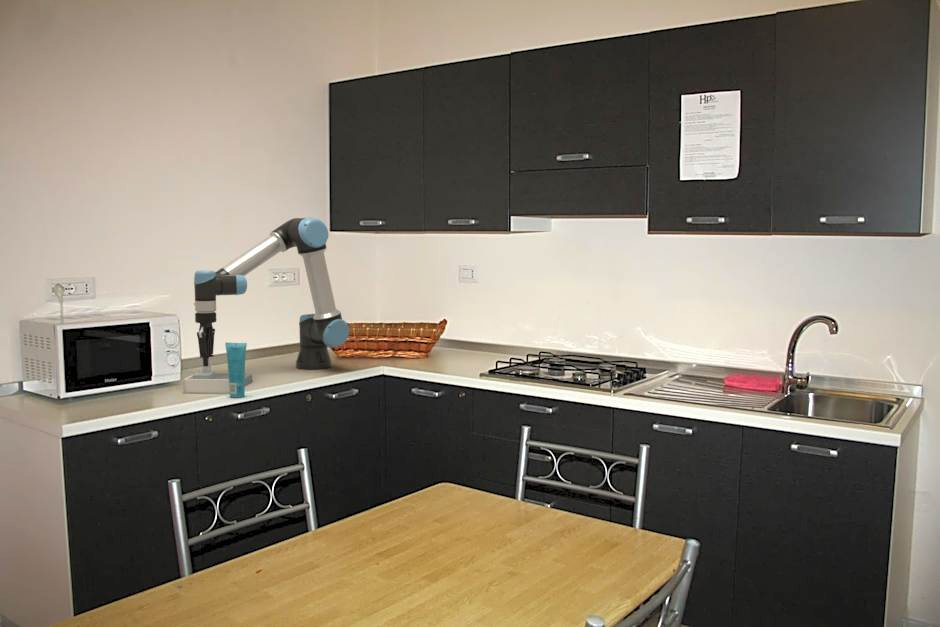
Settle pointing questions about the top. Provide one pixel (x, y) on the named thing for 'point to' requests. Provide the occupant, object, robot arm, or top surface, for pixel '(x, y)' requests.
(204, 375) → the tile
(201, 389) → the tray
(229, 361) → the tube
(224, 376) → the board
